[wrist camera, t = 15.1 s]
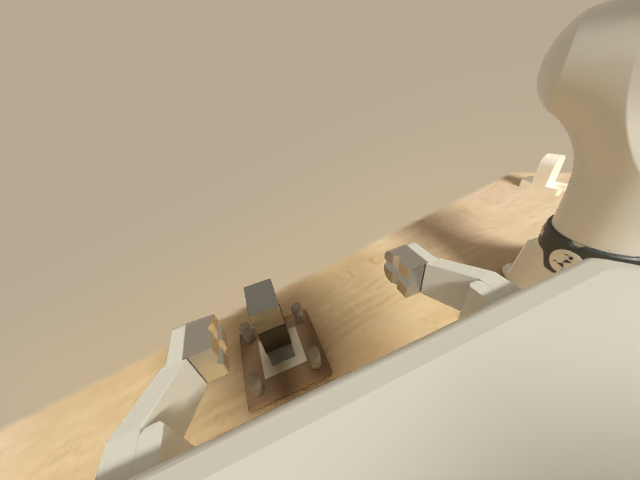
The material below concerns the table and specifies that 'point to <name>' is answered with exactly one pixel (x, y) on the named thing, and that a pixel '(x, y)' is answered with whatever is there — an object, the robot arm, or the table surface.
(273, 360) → the grey rectangular block
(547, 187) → the cable organizer
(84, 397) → the table surface
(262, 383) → the peg cradle
